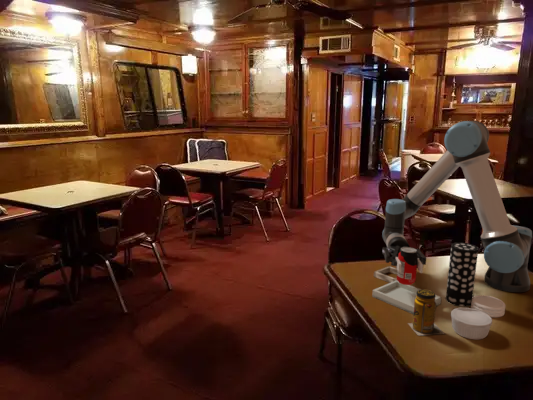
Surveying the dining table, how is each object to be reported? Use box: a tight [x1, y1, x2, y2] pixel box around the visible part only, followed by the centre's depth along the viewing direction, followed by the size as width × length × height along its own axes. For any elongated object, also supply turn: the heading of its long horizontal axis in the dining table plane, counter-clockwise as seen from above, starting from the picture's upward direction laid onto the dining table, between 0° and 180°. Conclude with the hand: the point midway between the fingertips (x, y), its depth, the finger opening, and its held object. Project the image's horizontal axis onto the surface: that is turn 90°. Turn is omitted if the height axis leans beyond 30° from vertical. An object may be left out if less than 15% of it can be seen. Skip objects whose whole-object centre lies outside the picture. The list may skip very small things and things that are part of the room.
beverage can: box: [396, 246, 418, 286], centre depth 142 cm, size 6×6×12 cm
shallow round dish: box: [470, 294, 506, 318], centre depth 137 cm, size 10×10×4 cm
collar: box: [373, 265, 398, 283], centre depth 164 cm, size 10×10×2 cm
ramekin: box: [450, 307, 493, 340], centre depth 124 cm, size 11×11×5 cm
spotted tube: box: [445, 242, 479, 307], centre depth 142 cm, size 8×8×20 cm
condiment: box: [407, 288, 446, 336], centre depth 125 cm, size 7×8×12 cm
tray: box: [371, 280, 442, 315], centre depth 144 cm, size 18×14×2 cm
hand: (410, 268), depth 137 cm, fingers closed on beverage can, 6 cm apart
